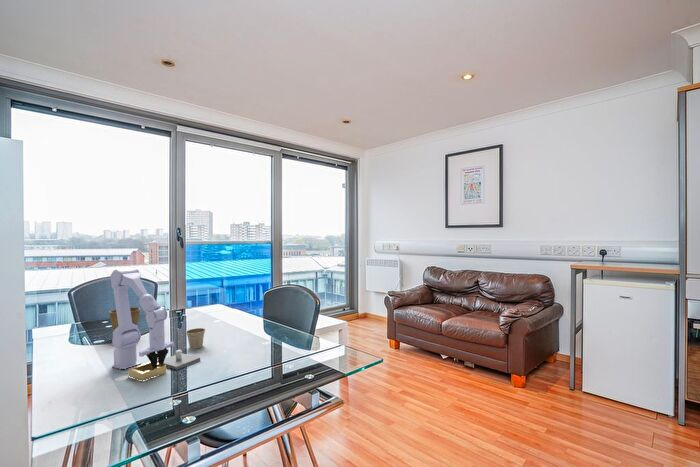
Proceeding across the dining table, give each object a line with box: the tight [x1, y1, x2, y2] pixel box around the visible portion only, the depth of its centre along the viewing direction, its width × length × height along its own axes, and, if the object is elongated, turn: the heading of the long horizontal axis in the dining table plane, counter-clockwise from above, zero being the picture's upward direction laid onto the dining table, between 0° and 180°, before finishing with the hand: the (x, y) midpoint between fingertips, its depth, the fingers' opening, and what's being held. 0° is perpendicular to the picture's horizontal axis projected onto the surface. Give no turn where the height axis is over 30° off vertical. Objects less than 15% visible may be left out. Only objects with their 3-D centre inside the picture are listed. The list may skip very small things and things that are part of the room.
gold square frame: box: [127, 361, 167, 381], centre depth 145 cm, size 10×10×4 cm
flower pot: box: [185, 327, 206, 350], centre depth 180 cm, size 9×9×9 cm
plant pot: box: [109, 306, 141, 332], centre depth 200 cm, size 15×15×16 cm
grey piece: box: [157, 349, 201, 371], centre depth 159 cm, size 14×12×6 cm
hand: (157, 367), depth 149 cm, fingers open, 2 cm apart
